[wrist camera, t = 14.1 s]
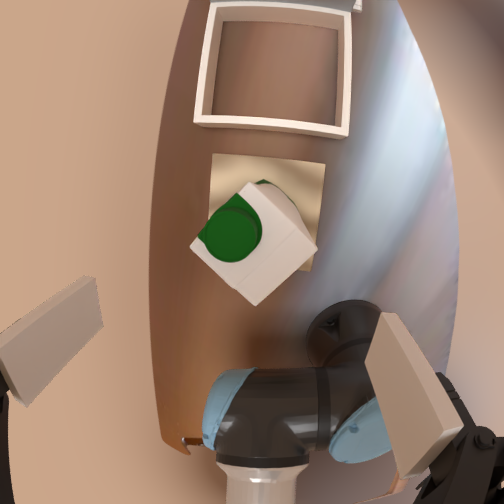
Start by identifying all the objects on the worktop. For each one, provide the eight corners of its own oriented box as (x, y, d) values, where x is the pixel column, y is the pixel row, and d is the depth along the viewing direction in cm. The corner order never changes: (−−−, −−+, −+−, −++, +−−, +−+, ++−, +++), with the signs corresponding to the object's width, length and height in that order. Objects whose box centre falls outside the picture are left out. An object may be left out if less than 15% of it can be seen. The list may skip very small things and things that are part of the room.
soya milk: (263, 169, 38) (246, 171, 19) (309, 214, 39) (334, 258, 20) (221, 213, 41) (170, 255, 22) (266, 255, 42) (253, 329, 23)
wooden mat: (310, 269, 43) (310, 271, 42) (208, 257, 44) (206, 259, 43) (324, 164, 38) (325, 164, 37) (214, 153, 39) (212, 153, 38)
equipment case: (340, 139, 37) (396, 115, 17) (203, 127, 38) (134, 96, 18) (343, -5, 28) (371, -81, 8) (223, -13, 30) (190, -90, 10)
